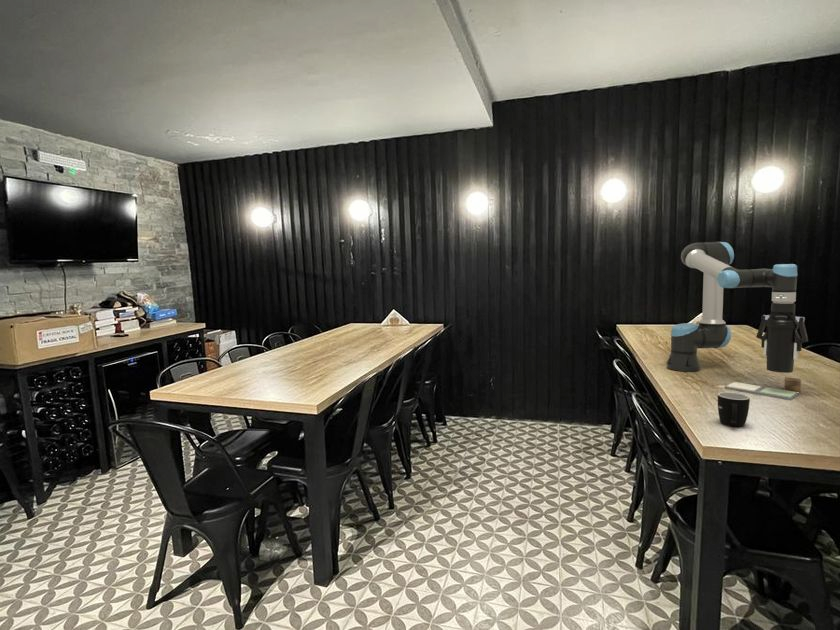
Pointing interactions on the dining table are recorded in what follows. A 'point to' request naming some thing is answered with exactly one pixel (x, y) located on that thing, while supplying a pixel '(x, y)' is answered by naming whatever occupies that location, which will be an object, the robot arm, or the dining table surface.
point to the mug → (733, 408)
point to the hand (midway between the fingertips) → (780, 357)
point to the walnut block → (792, 384)
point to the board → (762, 390)
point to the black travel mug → (781, 343)
